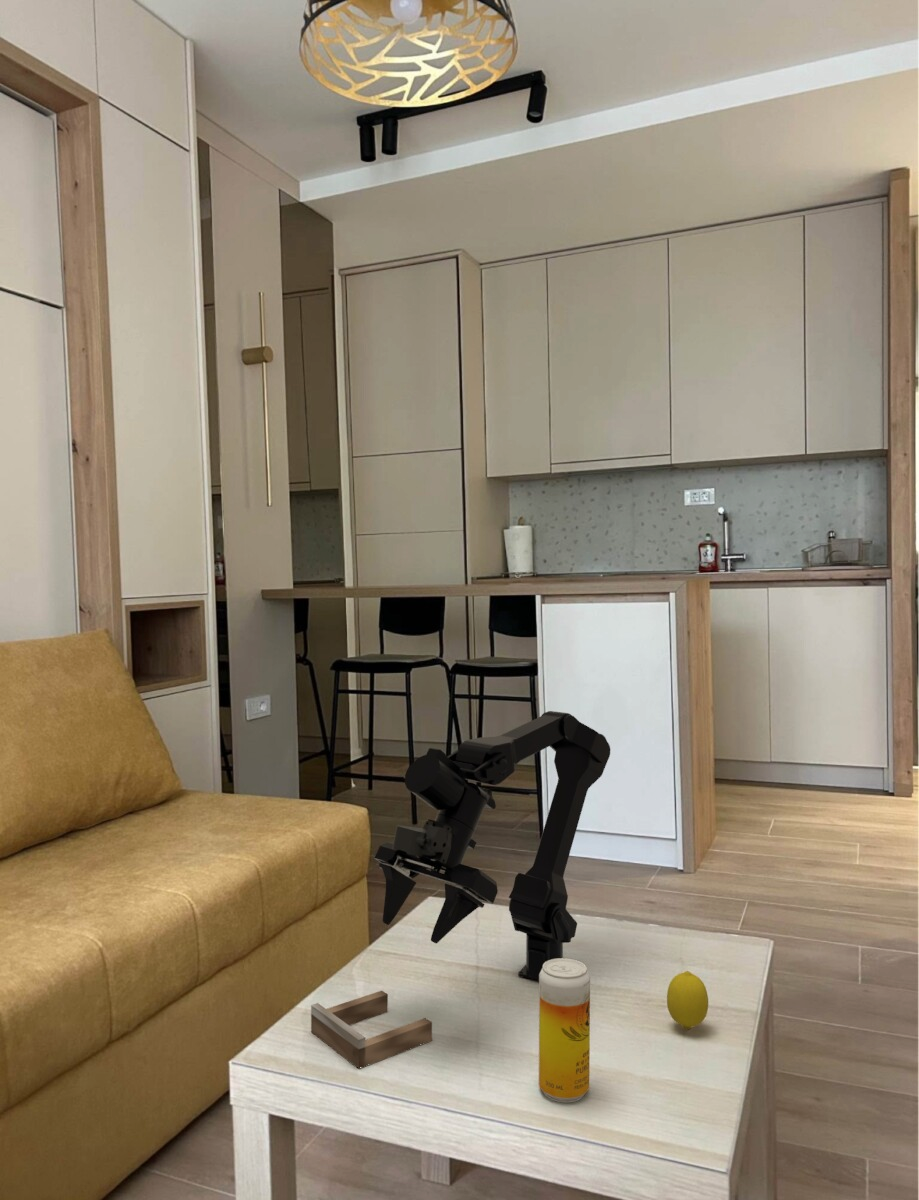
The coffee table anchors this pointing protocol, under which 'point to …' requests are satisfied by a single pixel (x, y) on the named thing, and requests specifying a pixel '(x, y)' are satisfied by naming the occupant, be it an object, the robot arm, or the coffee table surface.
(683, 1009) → the lemon
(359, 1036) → the frame
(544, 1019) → the beer can
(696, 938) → the coffee table surface
